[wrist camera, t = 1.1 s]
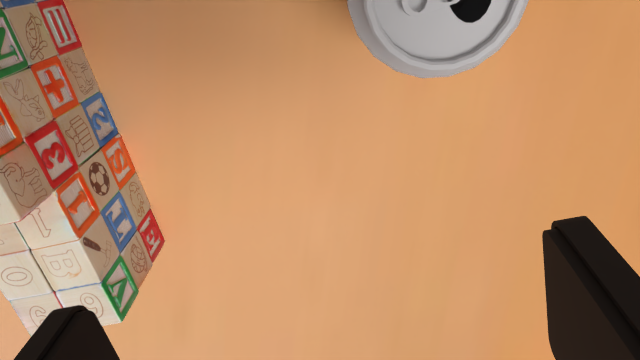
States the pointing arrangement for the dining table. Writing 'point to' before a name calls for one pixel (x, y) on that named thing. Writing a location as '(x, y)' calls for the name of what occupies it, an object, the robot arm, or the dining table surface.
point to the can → (434, 32)
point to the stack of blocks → (64, 177)
